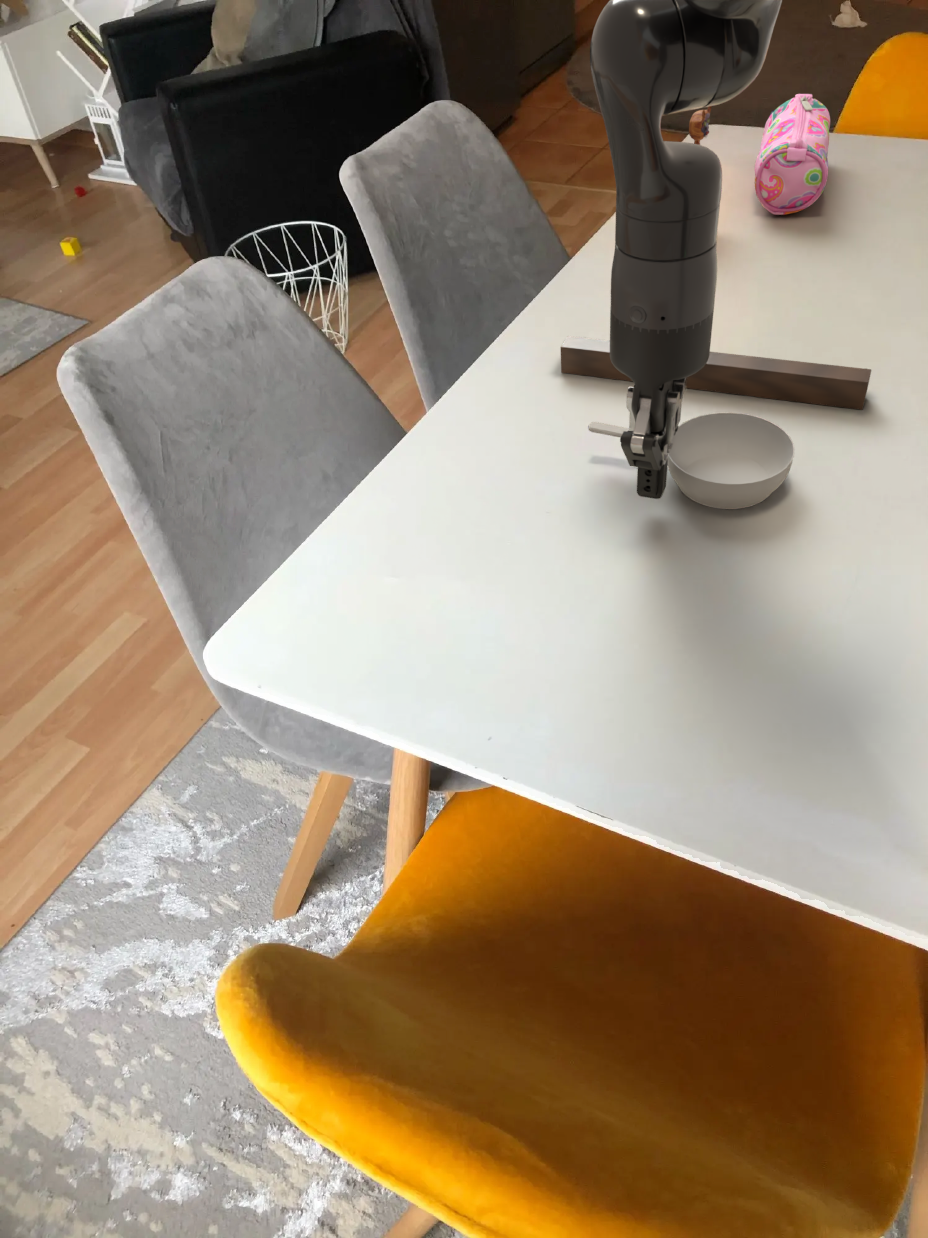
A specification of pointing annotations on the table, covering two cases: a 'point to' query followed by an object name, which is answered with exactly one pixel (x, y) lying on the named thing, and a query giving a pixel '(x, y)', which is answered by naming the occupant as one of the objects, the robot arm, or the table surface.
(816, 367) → the walnut rail
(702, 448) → the saucepan
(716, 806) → the table surface
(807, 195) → the pencil case
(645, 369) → the robot arm
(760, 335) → the table surface
